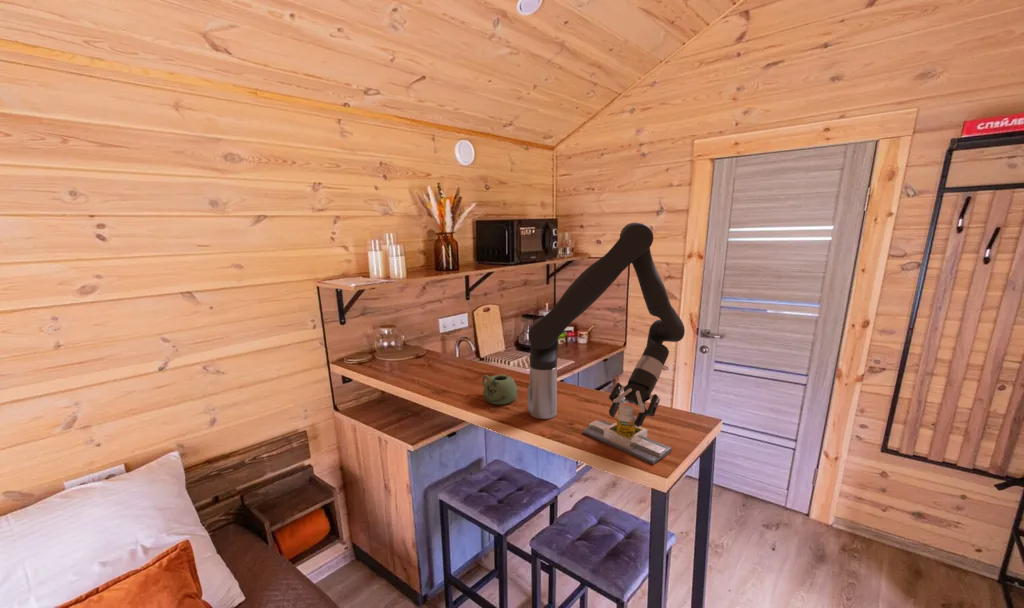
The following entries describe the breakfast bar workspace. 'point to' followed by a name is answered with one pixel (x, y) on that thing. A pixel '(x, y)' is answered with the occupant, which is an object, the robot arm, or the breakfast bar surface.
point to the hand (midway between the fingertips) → (623, 420)
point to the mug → (499, 389)
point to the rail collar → (628, 441)
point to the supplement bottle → (626, 421)
